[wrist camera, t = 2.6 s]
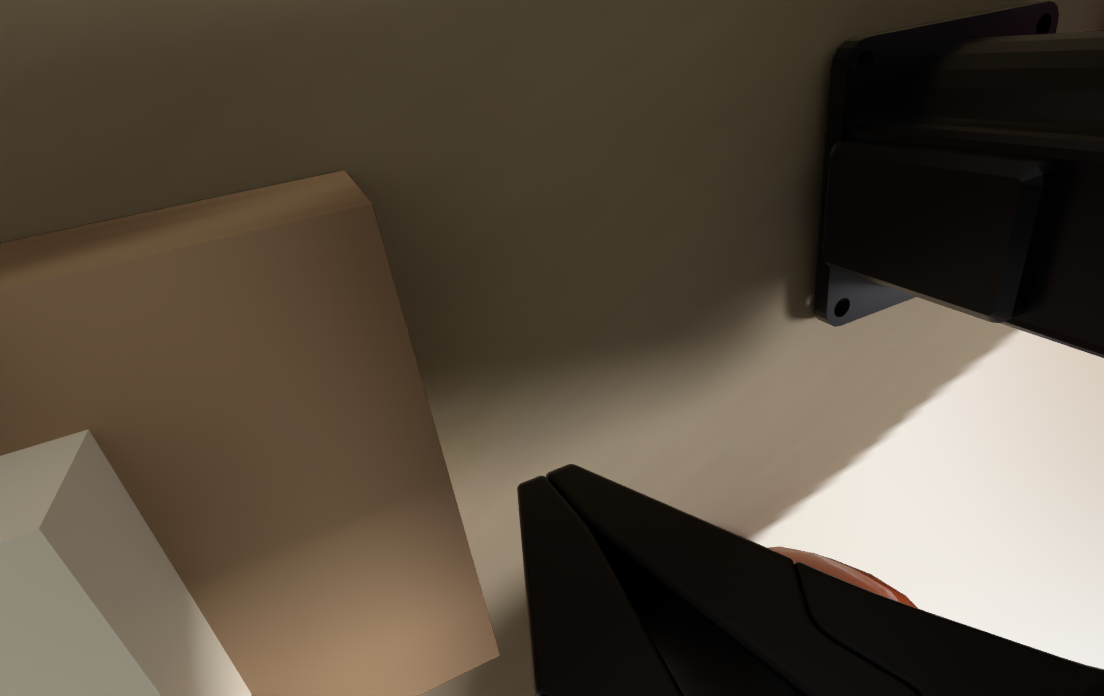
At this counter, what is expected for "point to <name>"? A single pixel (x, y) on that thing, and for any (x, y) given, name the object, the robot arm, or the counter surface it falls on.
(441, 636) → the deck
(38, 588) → the white rectangular block
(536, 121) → the counter surface
